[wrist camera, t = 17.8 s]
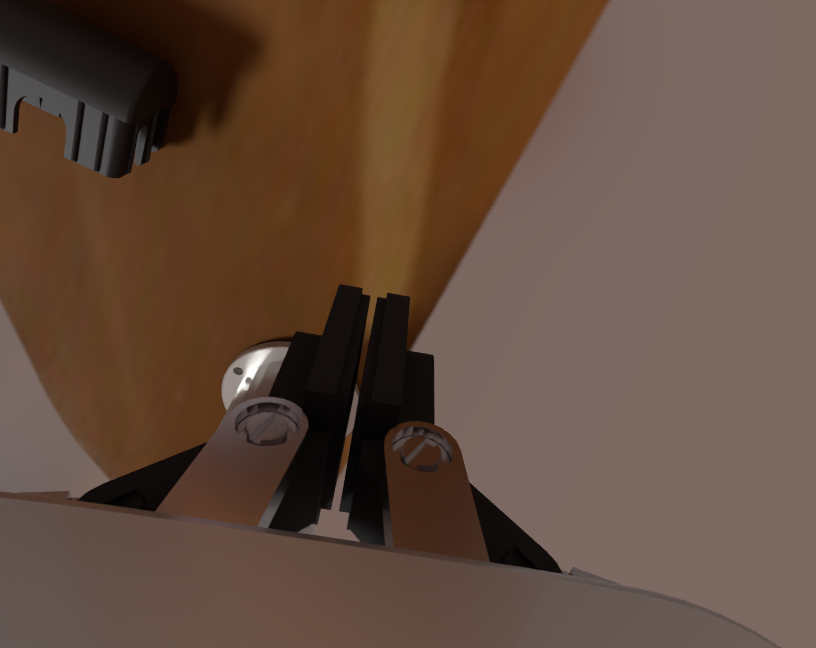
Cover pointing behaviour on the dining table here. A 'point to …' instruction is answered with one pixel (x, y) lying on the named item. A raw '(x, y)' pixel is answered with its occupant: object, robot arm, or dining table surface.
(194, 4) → the dining table surface
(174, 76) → the end cap
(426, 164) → the dining table surface
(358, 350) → the robot arm
